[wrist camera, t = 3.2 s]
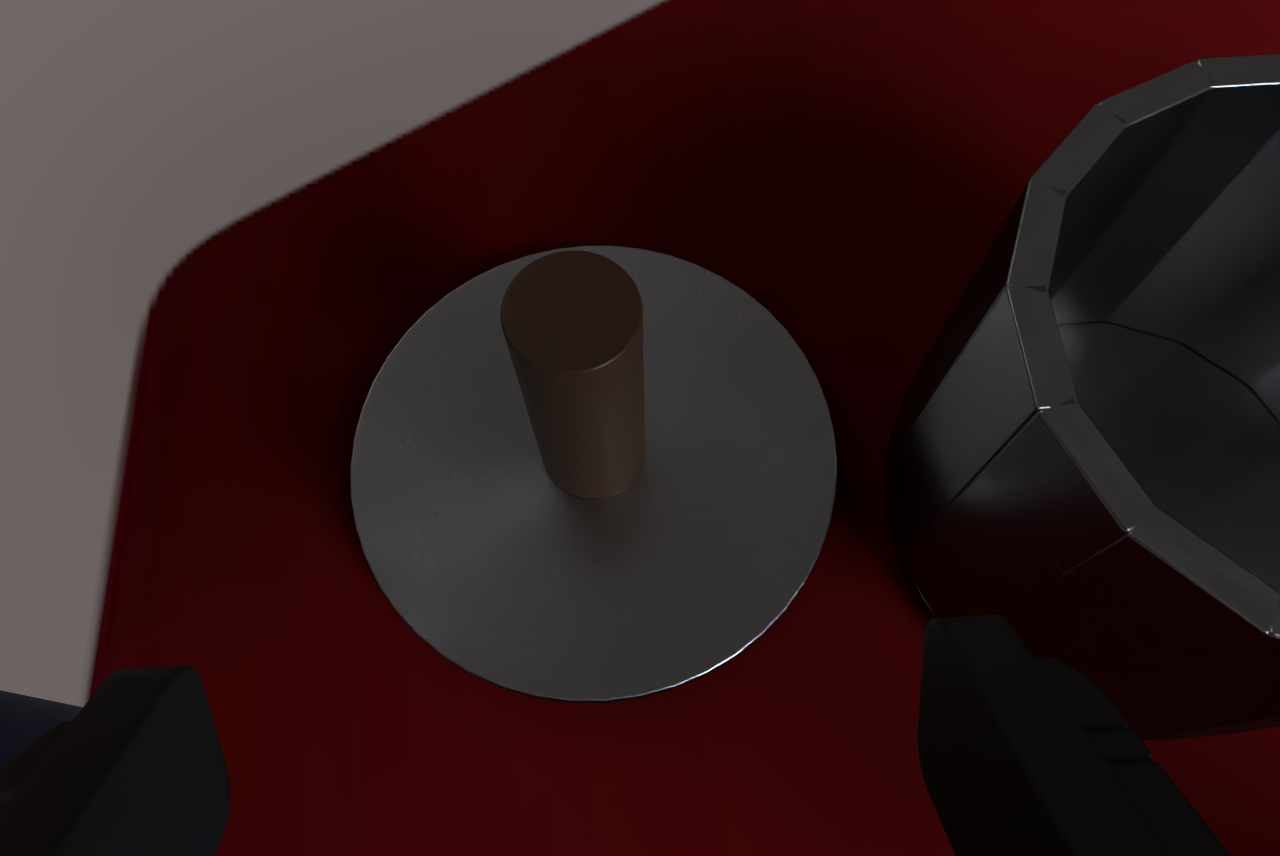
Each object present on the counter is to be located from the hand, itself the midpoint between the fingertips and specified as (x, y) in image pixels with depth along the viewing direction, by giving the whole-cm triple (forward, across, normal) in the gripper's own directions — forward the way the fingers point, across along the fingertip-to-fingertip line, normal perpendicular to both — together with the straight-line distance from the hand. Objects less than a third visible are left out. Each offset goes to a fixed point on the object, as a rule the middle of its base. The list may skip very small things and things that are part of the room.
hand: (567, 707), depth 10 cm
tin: (+12, -13, +5) cm, 19 cm away
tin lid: (+14, 0, +3) cm, 14 cm away
